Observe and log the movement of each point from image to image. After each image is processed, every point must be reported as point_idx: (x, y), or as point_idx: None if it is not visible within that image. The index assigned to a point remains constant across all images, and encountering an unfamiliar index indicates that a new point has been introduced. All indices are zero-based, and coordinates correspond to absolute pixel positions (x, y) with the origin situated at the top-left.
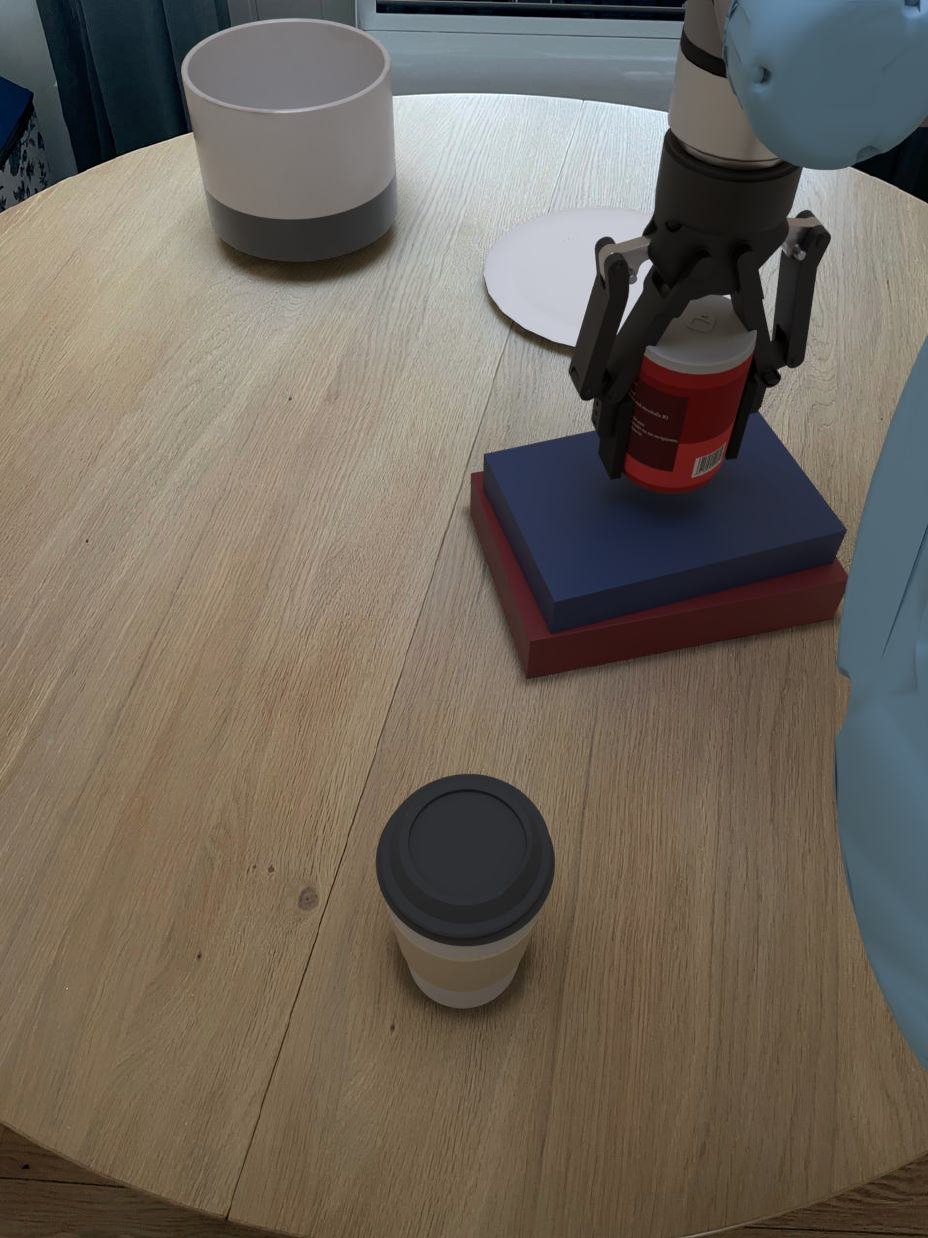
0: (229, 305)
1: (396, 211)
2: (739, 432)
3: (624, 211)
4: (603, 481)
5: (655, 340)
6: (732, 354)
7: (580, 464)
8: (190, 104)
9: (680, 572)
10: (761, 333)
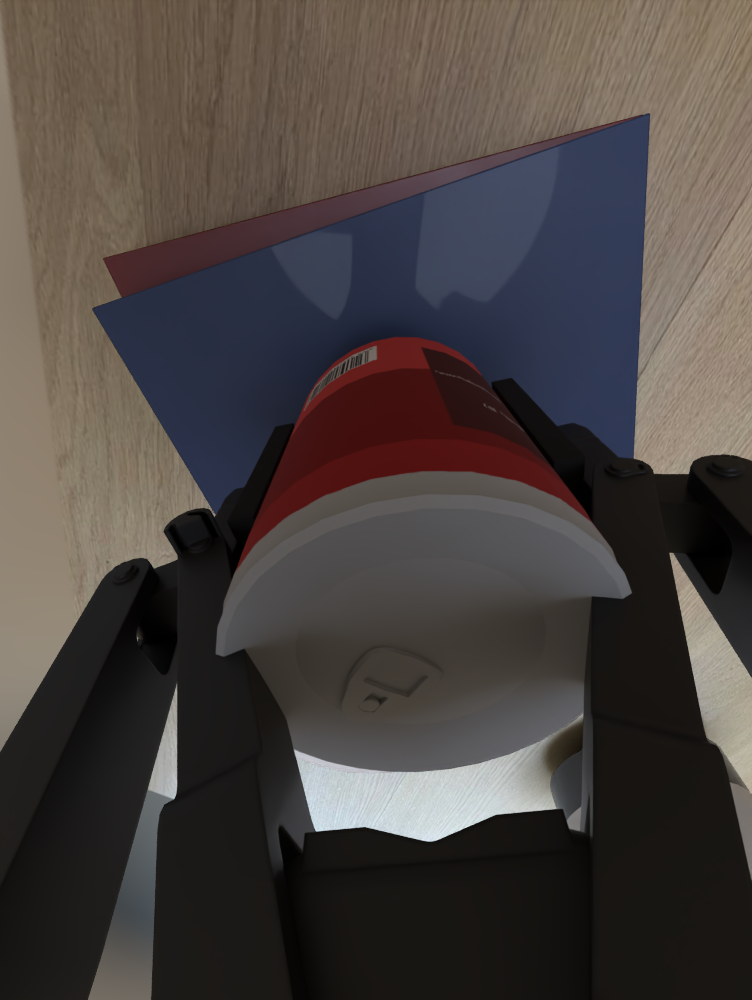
0: (720, 688)
1: (556, 773)
2: (271, 451)
3: (348, 769)
4: None
5: (608, 615)
6: (312, 555)
7: None
8: None
9: (389, 204)
10: (201, 643)
